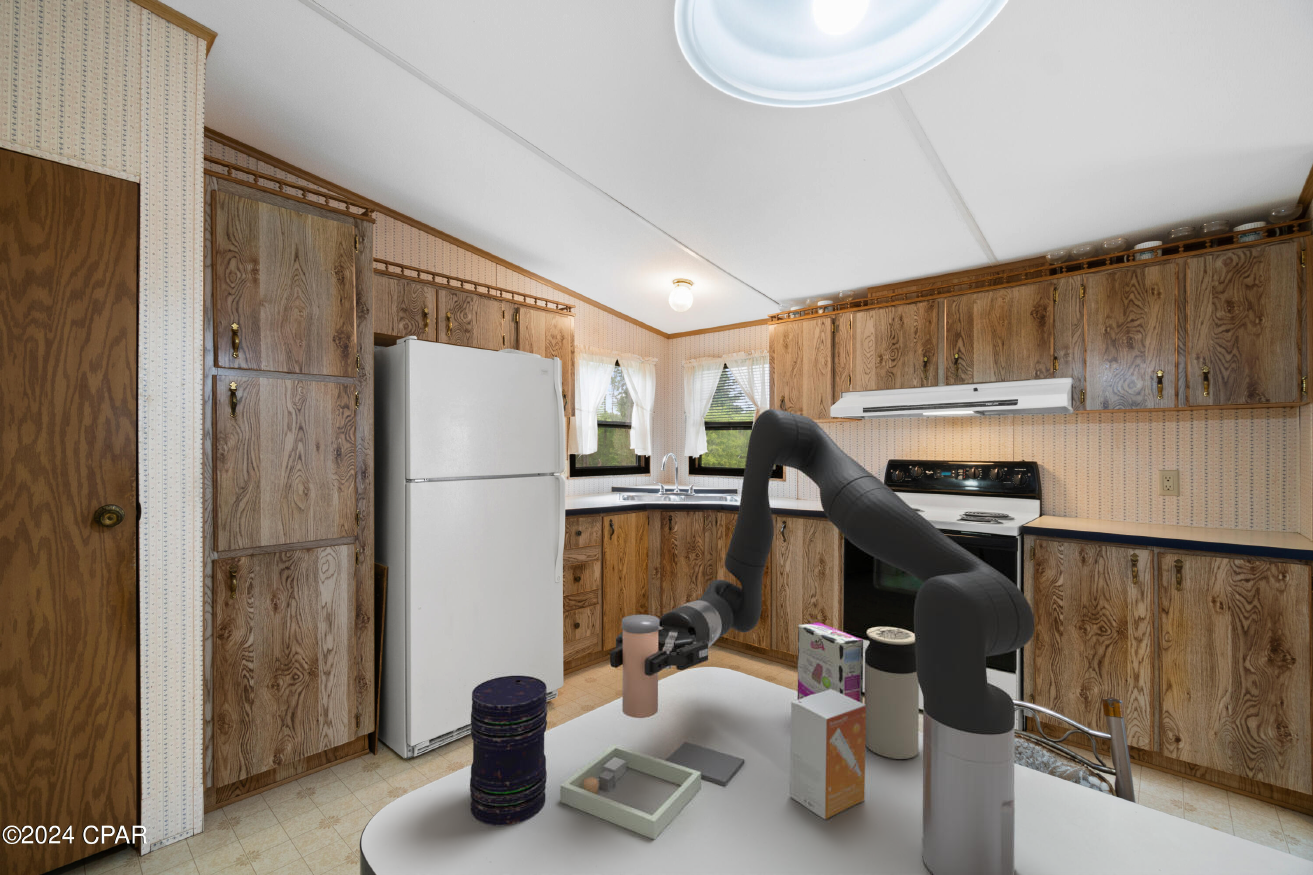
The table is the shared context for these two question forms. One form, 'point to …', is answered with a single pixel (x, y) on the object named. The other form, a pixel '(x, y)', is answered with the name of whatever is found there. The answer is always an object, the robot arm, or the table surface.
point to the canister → (639, 666)
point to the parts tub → (609, 768)
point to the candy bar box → (829, 662)
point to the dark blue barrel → (508, 750)
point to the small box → (827, 752)
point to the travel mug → (891, 693)
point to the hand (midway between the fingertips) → (630, 663)
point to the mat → (707, 762)
